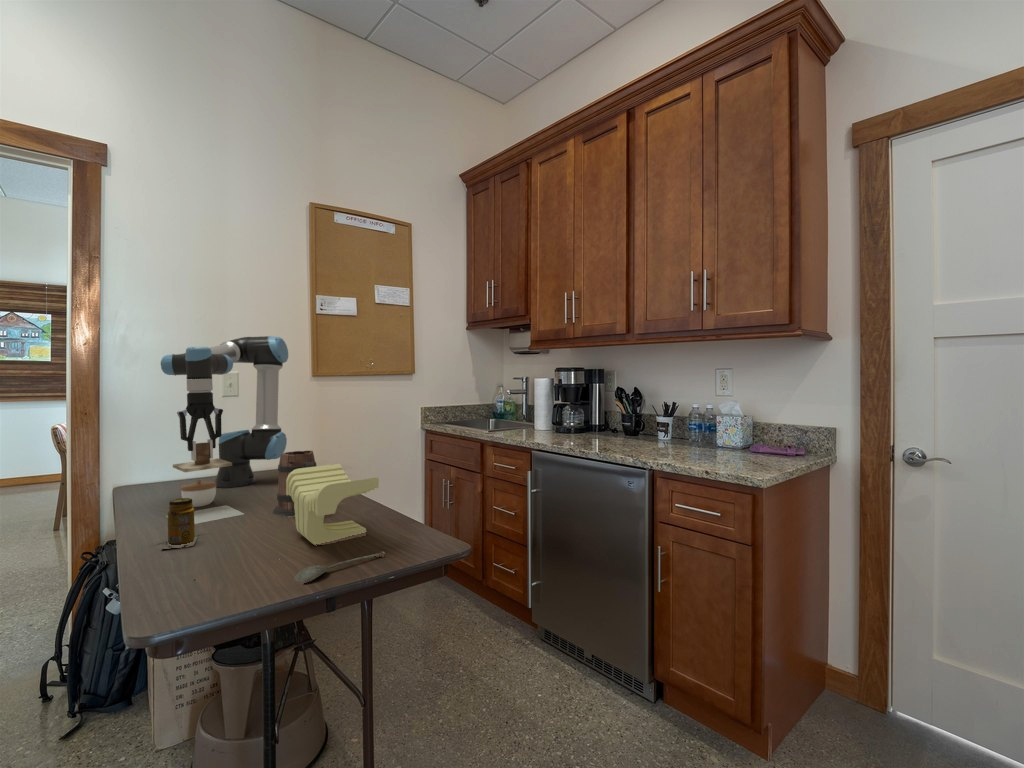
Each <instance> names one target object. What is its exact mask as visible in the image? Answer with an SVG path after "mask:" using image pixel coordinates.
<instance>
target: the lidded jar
mask: <svg viewBox="0 0 1024 768" xmlns="http://www.w3.org/2000/svg"><path fill="white" fill-rule="evenodd" d="M180 491H181V493H180V494H181V498H191V499H192V504H193V506H192V507H193V508H199V507H205V506H209V505H210V504H211V503H212V502H213V501H214V500H215V498H216V493H217V487H216V483H215V481H214V482H213V481H201V479H197V480H196V482H193V483H188V484H184V485H181V486H180Z"/></svg>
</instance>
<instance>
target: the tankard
mask: <svg viewBox="0 0 1024 768" xmlns="http://www.w3.org/2000/svg"><path fill="white" fill-rule="evenodd" d="M314 454H315V453H314V451H313V450H295V451H287V452H284V453H282V454H281V456H280V457H279V463H278V465H277V471H278V481H277V482H278V485H277V487H278V488H277V489H278V490H277V492H278V493H277V495H276V500H277V505H276V506H275V507H274V508H273V510H272V514H274V515H277V516H294V515H295V509H294V502H293V500H292V498H291V496H290V495H286V480H287V477H288V475H289V474H290V473H291V472H292V471H293V470H295V469H299V468H307V467H315V466H317V462H316V460H315V459H316V458H315V455H314Z"/></svg>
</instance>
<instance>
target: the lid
mask: <svg viewBox="0 0 1024 768" xmlns="http://www.w3.org/2000/svg"><path fill="white" fill-rule="evenodd" d="M226 466H232V463H231V462H228V461H225V460H221V459H219V458H212V459H210V449H209V443H208V442H198V443H197V442H196V461H189V462H182V463H181V462H180V463H173V464H172V468H173V469H176V470H178V471H180V472H184V473H191V472H197V471H205V470H210V469H217V468H218V469H219V467H226Z"/></svg>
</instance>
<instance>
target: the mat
mask: <svg viewBox="0 0 1024 768" xmlns="http://www.w3.org/2000/svg"><path fill="white" fill-rule="evenodd" d="M242 515H245V513H244V512H241V511H240V510H238V509H235V508H233V507H231V506H229V505H221V506H220V505H219V506H215V507H209V508H204V509H197V510H194V523H195V524H194V525H197V524H202V523H207V522H212V521H217V520H222V519H228V518H233V517H237V516H242ZM165 518H167V519H168V515H165Z"/></svg>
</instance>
